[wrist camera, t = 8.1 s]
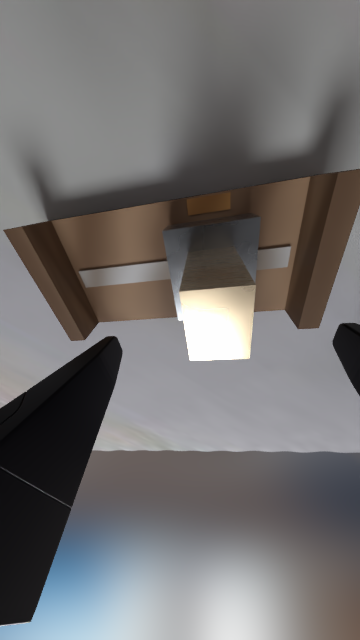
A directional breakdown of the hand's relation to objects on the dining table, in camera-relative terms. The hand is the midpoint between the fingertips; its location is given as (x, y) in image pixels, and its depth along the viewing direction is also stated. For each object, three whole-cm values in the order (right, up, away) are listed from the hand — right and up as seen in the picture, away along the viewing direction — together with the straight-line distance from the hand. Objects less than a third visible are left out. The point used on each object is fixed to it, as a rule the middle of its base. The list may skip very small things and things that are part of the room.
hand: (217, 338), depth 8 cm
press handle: (+1, +5, +8) cm, 9 cm away
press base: (-2, +6, +10) cm, 12 cm away
